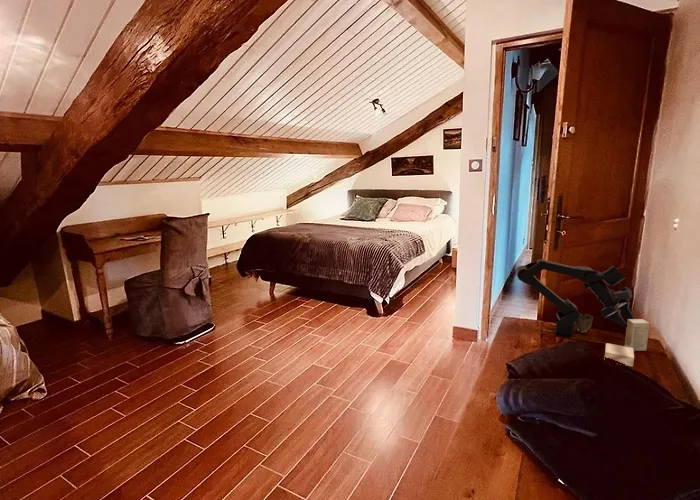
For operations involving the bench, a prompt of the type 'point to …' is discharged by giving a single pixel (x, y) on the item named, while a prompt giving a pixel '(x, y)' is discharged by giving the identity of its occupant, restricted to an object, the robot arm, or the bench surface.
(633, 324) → the skincare box
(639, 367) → the bench surface
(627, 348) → the birch block
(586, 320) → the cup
